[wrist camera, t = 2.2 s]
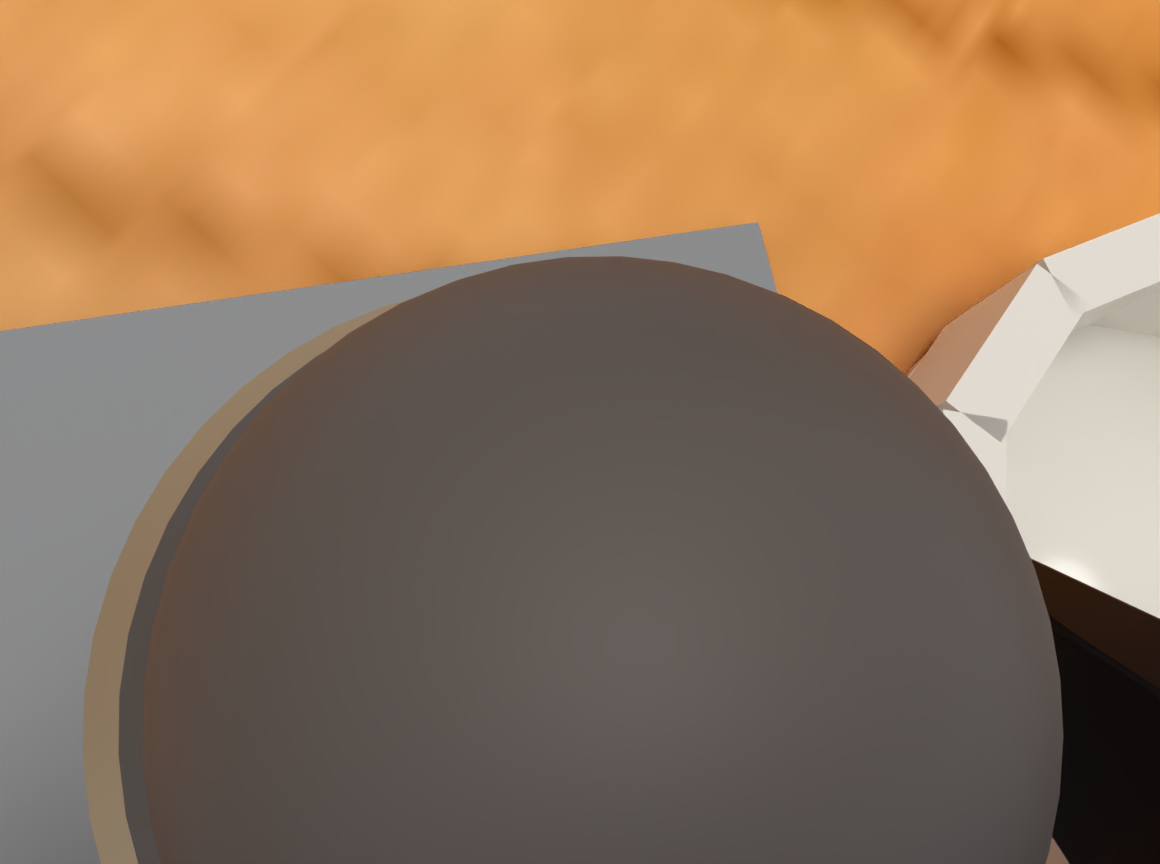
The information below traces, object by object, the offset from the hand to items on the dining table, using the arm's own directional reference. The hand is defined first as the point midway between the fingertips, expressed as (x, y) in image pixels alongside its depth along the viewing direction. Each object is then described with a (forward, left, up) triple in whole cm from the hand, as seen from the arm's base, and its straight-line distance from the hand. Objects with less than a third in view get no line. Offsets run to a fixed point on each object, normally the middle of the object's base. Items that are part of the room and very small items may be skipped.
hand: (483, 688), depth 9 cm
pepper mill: (0, 0, -8) cm, 8 cm away
